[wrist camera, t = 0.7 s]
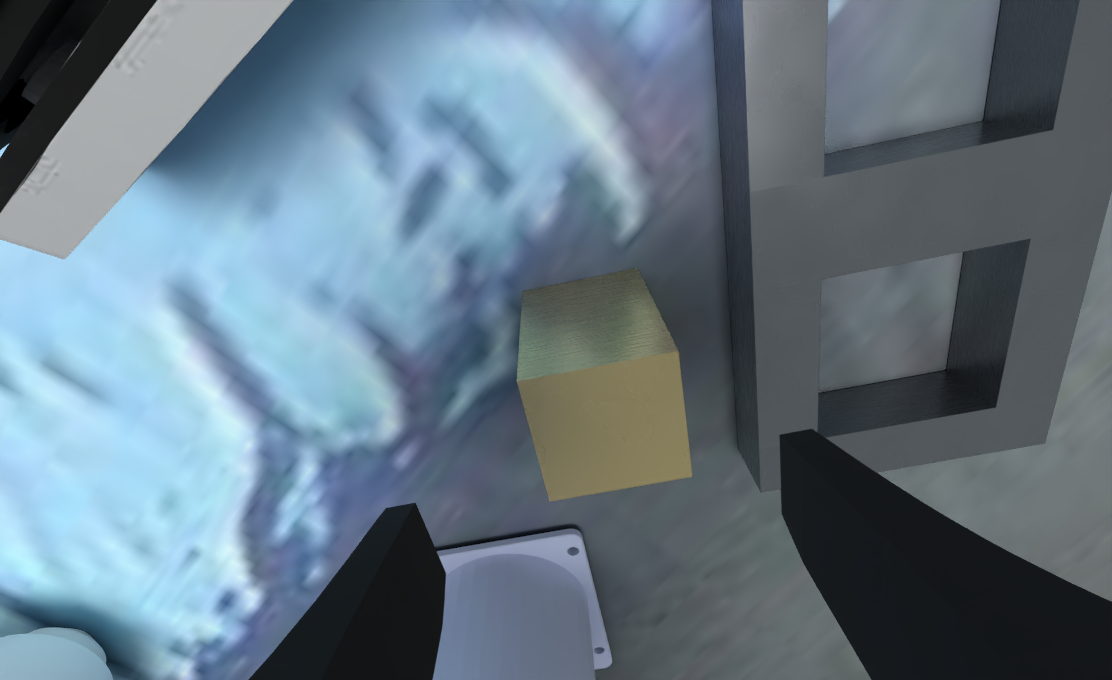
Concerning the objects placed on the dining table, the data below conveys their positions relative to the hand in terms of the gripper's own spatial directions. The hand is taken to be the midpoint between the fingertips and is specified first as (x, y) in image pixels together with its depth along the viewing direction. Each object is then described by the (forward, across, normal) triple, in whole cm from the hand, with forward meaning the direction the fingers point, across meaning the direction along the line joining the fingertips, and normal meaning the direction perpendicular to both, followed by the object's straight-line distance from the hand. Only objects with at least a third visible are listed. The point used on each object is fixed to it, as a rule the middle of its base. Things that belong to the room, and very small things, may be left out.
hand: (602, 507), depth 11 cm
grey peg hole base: (+9, -10, -2) cm, 14 cm away
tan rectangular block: (+9, 0, +1) cm, 9 cm away
